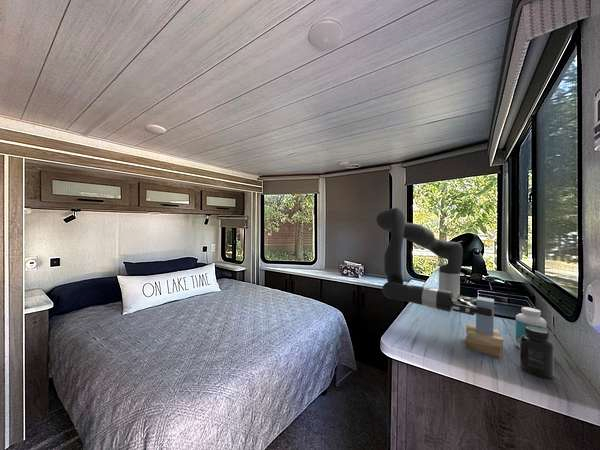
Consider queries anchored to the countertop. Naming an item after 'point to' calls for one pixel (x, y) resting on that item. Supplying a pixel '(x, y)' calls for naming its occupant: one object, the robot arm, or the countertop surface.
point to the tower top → (484, 337)
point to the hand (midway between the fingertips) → (492, 309)
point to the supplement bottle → (537, 352)
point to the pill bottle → (528, 322)
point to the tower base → (482, 348)
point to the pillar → (482, 321)
